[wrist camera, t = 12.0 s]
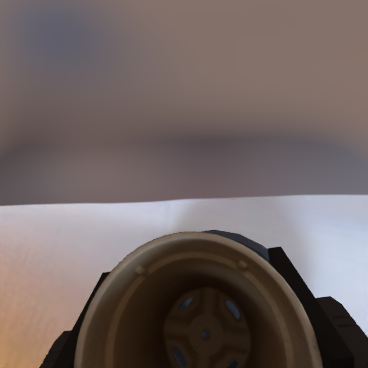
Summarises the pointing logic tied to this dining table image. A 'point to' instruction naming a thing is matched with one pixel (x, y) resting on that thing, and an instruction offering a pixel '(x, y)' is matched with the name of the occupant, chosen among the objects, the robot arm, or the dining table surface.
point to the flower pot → (195, 310)
